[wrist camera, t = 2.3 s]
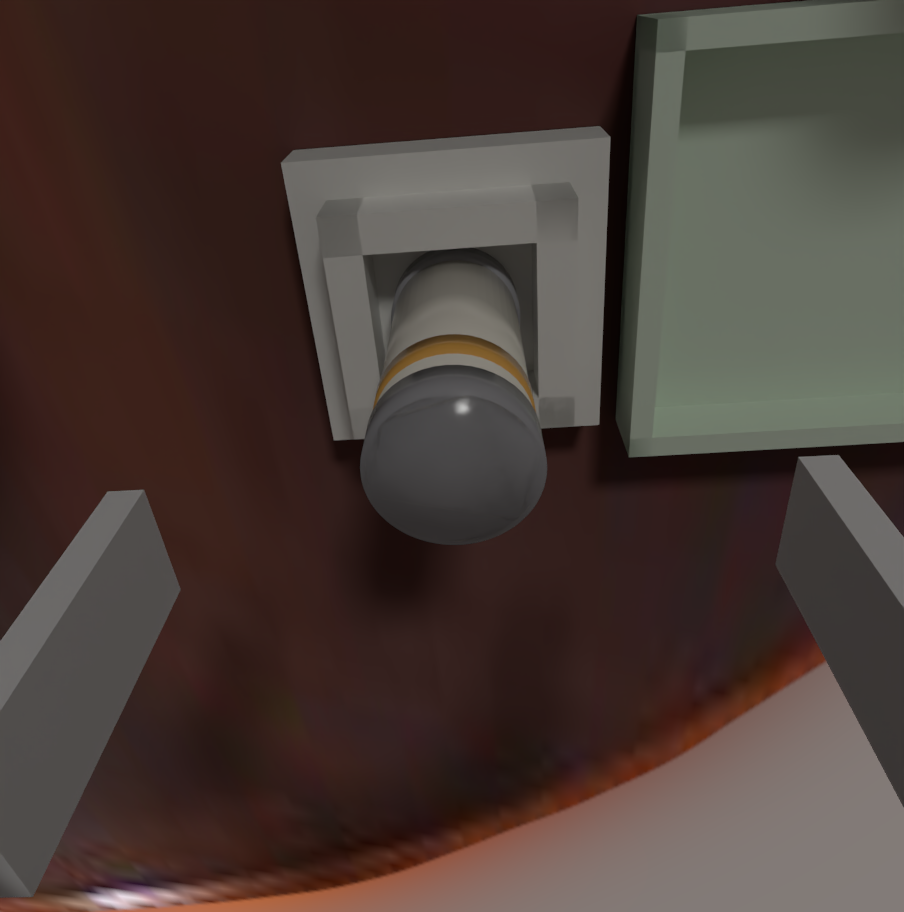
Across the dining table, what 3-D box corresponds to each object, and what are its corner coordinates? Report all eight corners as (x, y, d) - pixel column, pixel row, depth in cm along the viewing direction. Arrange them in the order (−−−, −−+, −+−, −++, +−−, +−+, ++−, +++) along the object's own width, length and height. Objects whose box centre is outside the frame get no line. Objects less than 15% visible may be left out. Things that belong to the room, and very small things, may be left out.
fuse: (401, 366, 26) (373, 549, 18) (386, 249, 24) (346, 396, 15) (519, 359, 26) (547, 540, 18) (515, 240, 24) (546, 383, 15)
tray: (615, 419, 30) (629, 457, 27) (636, 14, 22) (658, 18, 20) (974, 398, 29) (1019, 435, 27) (1124, -27, 21) (1206, -28, 19)
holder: (340, 414, 30) (325, 470, 26) (293, 150, 24) (266, 177, 21) (590, 399, 29) (608, 453, 26) (599, 126, 24) (622, 150, 20)
